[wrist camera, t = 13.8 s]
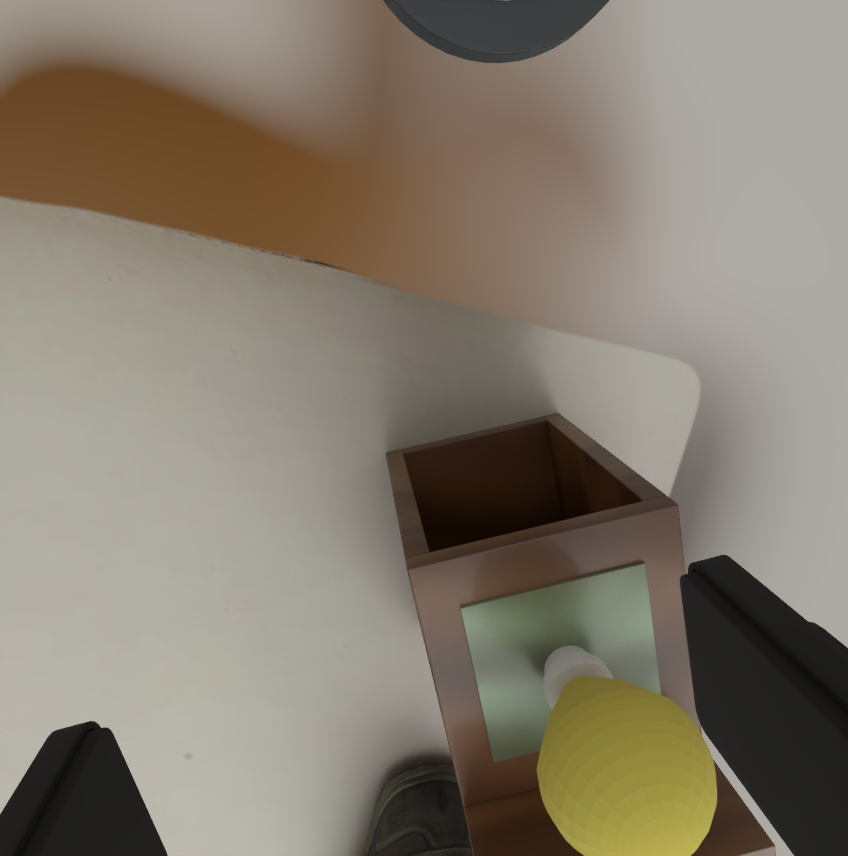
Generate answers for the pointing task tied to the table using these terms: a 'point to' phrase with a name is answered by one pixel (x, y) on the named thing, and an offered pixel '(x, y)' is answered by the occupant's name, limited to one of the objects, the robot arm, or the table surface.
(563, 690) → the light bulb
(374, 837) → the shoe
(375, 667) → the table surface
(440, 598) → the wooden frame
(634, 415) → the table surface
